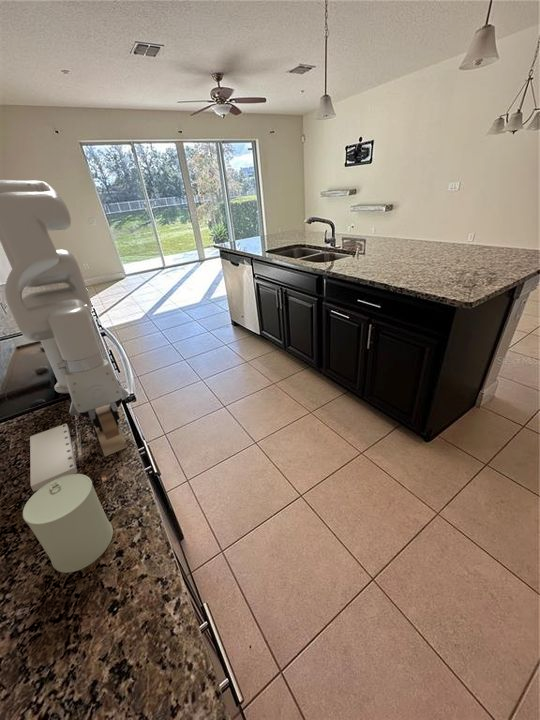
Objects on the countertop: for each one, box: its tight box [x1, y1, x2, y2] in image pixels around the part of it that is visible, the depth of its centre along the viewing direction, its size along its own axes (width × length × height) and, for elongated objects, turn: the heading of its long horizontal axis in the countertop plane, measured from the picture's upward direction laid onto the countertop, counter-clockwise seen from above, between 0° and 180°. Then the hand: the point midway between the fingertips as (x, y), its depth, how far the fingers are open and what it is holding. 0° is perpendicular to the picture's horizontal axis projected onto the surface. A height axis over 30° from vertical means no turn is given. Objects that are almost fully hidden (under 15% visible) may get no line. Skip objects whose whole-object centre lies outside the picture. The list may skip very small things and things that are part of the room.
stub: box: [94, 404, 128, 457], centre depth 76 cm, size 18×5×6 cm, turn 37°
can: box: [22, 473, 114, 574], centre depth 49 cm, size 9×9×12 cm
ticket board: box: [29, 423, 78, 493], centre depth 71 cm, size 20×8×2 cm, turn 37°
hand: (108, 424), depth 77 cm, fingers closed on stub, 3 cm apart
